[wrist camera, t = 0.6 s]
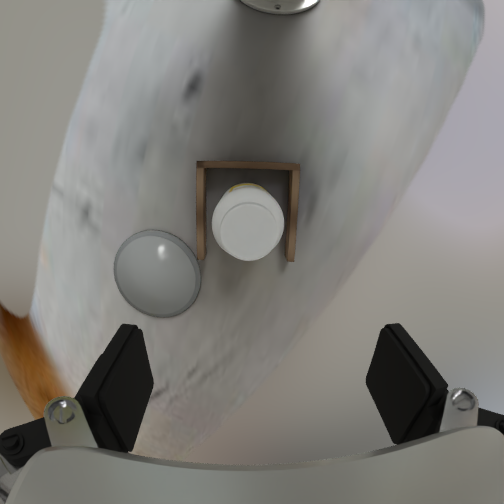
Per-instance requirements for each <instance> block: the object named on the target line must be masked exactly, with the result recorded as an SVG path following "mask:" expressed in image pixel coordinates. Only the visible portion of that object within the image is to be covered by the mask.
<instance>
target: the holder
mask: <svg viewBox="0 0 504 504" xmlns="http://www.w3.org/2000/svg"><path fill="white" fill-rule="evenodd" d="M206 168H251V169H277V170H289V191H288V211H287V228H286V244H285V257H286V259H287V262H294V256H295V243H296V229H297V214H298V197H299V178H300V164H295V163H277V162H253V161H197V171H196V225H197V260H204V258H205V256H206Z"/></svg>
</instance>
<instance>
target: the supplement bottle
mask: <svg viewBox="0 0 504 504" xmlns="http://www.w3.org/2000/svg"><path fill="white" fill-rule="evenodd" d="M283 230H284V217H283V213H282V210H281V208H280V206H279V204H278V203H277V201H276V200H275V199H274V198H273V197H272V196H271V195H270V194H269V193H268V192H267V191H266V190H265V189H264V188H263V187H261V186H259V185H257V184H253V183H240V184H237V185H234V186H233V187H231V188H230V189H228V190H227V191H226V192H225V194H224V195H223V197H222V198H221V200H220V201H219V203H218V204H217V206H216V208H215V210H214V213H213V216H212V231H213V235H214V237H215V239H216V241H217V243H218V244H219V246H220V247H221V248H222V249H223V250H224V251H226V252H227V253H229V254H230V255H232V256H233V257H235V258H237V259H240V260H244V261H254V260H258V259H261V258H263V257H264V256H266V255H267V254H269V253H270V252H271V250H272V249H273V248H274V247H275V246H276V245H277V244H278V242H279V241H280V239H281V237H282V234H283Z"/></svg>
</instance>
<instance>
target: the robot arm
mask: <svg viewBox="0 0 504 504" xmlns="http://www.w3.org/2000/svg"><path fill="white" fill-rule="evenodd" d="M240 1H242V2H243V3H244V4H246V5H248V6H250V7H251V8H254V9H256V10H259V11H262V12H267V13H272V14H294V13H299V12H302V11H305V10H307V9H309V8H311V7H313V6H314V5H315V4H316V3H317V2H318V1H319V0H240ZM153 384H154V382H153V376H152V372H151V368H150V364H149V360H148V355H147V351H146V346H145V342H144V337H143V332H142V330H141V329H138V327H137V325H131V324H122V325H121V326H120V328H119V329H118V331H117V332H116V334H115V335H114V337H113V338H112V340H111V341H110V343H109V345H108V346H107V348H106V349H105V351H104V352H103V354H101V355H100V357H99V358H98V360H97V361H96V363H95V364H94V366H93V368H92V369H91V371H90V372H89V374H88V376H87V377H86V379H85V381H84V382H83V384H82V386H81V387H80V389H79V391H78V393H77V394H76V396H75V398H71V397H67V396H62V397H57V398H55V399H53V400H51V401H50V402H49V403H48V404H47V405H46V407H45V410H44V417H43V418H40V419H37V420H35V421H32V422H29V423H26V424H23V425H19V426H16V427H13V428H10V429H8V430H5V431H4V432H3V433H2V434H1V435H0V504H504V415H501V414H498V413H494V412H491V411H488V410H485V409H481V408H478V406H479V404H478V399H477V397H476V396H475V395H474V393H472V392H471V391H469V390H467V389H465V388H454V389H452V390H451V391H450V392H449V391H448V390H447V387H448V384H447V383H446V381H445V380H444V379H443V378H442V376H441V375H440V373H439V372H438V371H437V369H436V368H435V367H434V366H433V364H432V363H431V362H430V360H429V359H428V358H427V357H426V355H425V354H424V353H423V351H422V350H421V349H420V348H419V346H418V345H417V344H416V343H415V342H414V340H413V339H412V338H411V337H410V335H409V334H408V333H407V332H406V330H405V329H404V328H403V327H402V326H401V325H400V324H399V323H395V324H387V325H385V327H384V328H382V329H381V331H380V334H379V338H378V341H377V345H376V348H375V351H374V355H373V358H372V361H371V364H370V367H369V370H368V373H367V376H366V385H367V387H368V389H369V392H370V394H371V396H372V398H373V400H374V402H375V404H376V406H377V409H378V411H379V413H380V415H381V417H382V419H383V422H384V424H385V426H386V428H387V430H388V432H389V435H390V437H391V439H392V441H393V443H394V444H397V445H395V446H391V447H387V448H383V449H379V450H375V451H370V452H365V453H361V454H356V455H350V456H345V457H338V458H332V459H326V460H317V461H309V462H299V463H286V464H268V465H223V464H222V465H221V464H204V463H192V462H182V461H173V460H166V459H158V458H151V457H145V456H139V455H134V454H129V453H128V451H130V452H131V451H132V450H133V448H134V444H135V441H136V438H137V435H138V432H139V428H140V425H141V422H142V419H143V416H144V413H145V410H146V407H147V404H148V401H149V398H150V395H151V392H152V389H153Z"/></svg>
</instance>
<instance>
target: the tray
mask: <svg viewBox="0 0 504 504" xmlns="http://www.w3.org/2000/svg"><path fill="white" fill-rule="evenodd" d="M114 276H115V281H116V284H117V286H118V288H119V291H120V292H121V294H122V295H123V297H124V298H125V299H126V300H127V301H128V302H129V304H131V305H132V306H133V307H134V308H136V309H137V310H139V311H141V312H143V313H145V314H148V315H151V316H156V317H169V316H174V315H177V314H179V313H181V312H183V311H185V310H186V309H187V308H188V307H189V306H190V305H191V304H192V303H193V302H194V300H195V299H196V297H197V295H198V292H199V289H200V284H201V272H200V267H199V264H198V261H197V259H196V257H195V255H194V253H193V252H192V250H191V249H190V248H189V247H188V246H187V245H186V244H185V243H184V242H183V241H182V240H181V239H179V238H178V237H176V236H174V235H172V234H170V233H167V232H164V231H159V230H146V231H142V232H139V233H136V234H135V235H133V236H131V237H130V238H128V239H127V240H126V241H125V242H124V243H123V244H122V245H121V247H120V248H119V250H118V252H117V254H116V257H115V261H114Z"/></svg>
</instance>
